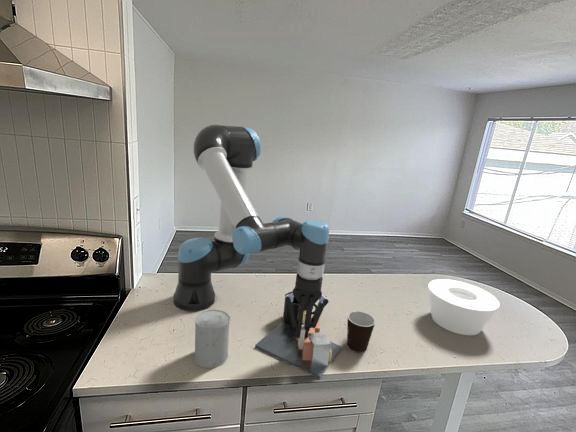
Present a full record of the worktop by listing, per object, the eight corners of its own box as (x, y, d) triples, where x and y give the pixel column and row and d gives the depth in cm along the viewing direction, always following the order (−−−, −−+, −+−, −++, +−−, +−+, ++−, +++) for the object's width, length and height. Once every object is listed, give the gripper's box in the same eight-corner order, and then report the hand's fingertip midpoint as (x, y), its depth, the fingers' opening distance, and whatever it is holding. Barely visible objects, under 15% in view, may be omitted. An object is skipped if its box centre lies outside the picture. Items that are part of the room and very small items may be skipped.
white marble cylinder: (197, 345, 99) (198, 309, 96) (229, 345, 100) (231, 310, 97) (191, 367, 90) (192, 328, 87) (226, 368, 91) (228, 329, 88)
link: (320, 361, 96) (322, 346, 94) (296, 359, 95) (298, 344, 94) (316, 329, 111) (318, 316, 110) (296, 327, 111) (297, 314, 110)
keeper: (305, 354, 98) (308, 333, 96) (325, 352, 99) (328, 331, 98) (311, 367, 93) (314, 345, 91) (332, 365, 94) (335, 343, 92)
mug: (318, 328, 113) (321, 305, 111) (284, 327, 111) (286, 304, 109) (313, 313, 122) (316, 291, 120) (281, 312, 121) (284, 290, 118)
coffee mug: (365, 358, 100) (370, 330, 97) (339, 347, 104) (343, 319, 101) (376, 340, 109) (381, 313, 107) (352, 330, 114) (356, 304, 111)
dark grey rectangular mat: (255, 347, 100) (255, 344, 100) (282, 323, 114) (282, 321, 114) (319, 378, 90) (320, 376, 90) (341, 348, 103) (341, 346, 103)
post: (298, 336, 106) (301, 313, 104) (302, 332, 109) (305, 309, 107) (306, 339, 105) (309, 316, 103) (310, 335, 107) (312, 312, 105)
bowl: (487, 316, 131) (494, 289, 128) (495, 350, 110) (505, 318, 107) (423, 299, 141) (429, 274, 138) (420, 327, 119) (427, 297, 116)
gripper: (288, 279, 89) (279, 353, 95) (334, 282, 90) (323, 355, 96) (286, 267, 96) (278, 337, 102) (329, 270, 97) (318, 339, 103)
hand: (300, 346), depth 99 cm, fingers closed
